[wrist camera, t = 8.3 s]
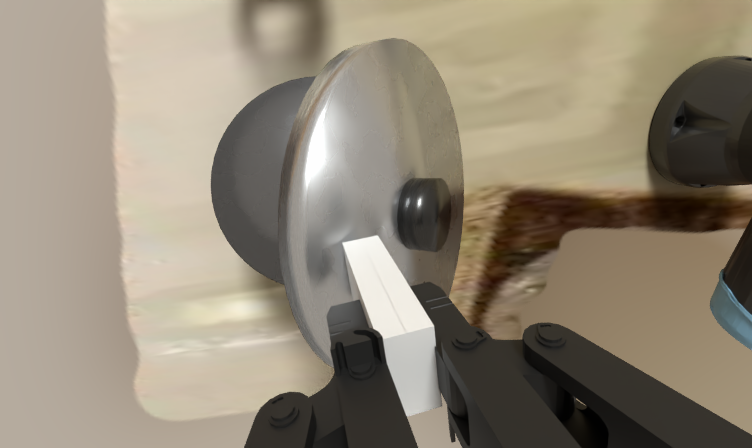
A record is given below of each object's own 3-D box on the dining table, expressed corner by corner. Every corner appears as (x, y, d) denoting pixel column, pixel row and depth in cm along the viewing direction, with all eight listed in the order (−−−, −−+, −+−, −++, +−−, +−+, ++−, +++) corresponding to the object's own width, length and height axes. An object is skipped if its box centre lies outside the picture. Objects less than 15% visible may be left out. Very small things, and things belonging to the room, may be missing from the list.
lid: (433, 42, 26) (477, 34, 25) (452, 273, 33) (487, 278, 31) (222, 45, 12) (294, 27, 11) (327, 453, 18) (382, 478, 17)
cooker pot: (396, 66, 38) (440, 57, 27) (418, 261, 45) (459, 317, 34) (213, 93, 35) (178, 96, 24) (269, 295, 43) (262, 367, 32)
